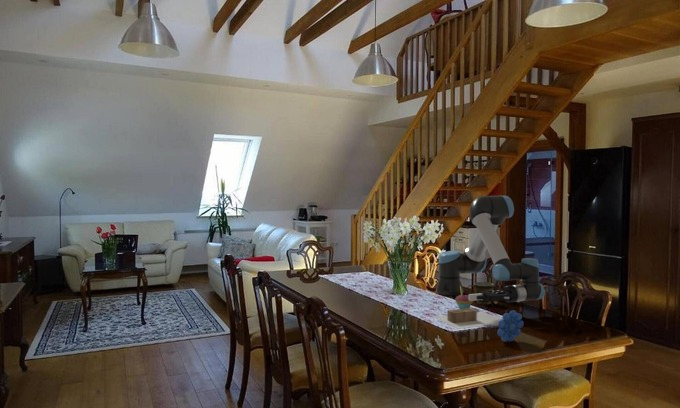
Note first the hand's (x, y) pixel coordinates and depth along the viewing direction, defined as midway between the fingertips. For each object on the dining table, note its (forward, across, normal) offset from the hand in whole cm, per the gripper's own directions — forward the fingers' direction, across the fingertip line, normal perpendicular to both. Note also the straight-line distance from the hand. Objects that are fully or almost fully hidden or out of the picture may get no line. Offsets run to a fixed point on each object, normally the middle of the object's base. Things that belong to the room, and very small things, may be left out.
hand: (469, 297), depth 214 cm
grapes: (+1, -29, -11) cm, 31 cm away
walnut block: (-2, 0, -8) cm, 8 cm away
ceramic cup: (-25, +27, -11) cm, 38 cm away
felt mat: (-1, 0, -10) cm, 11 cm away
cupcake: (-10, +19, -11) cm, 24 cm away
